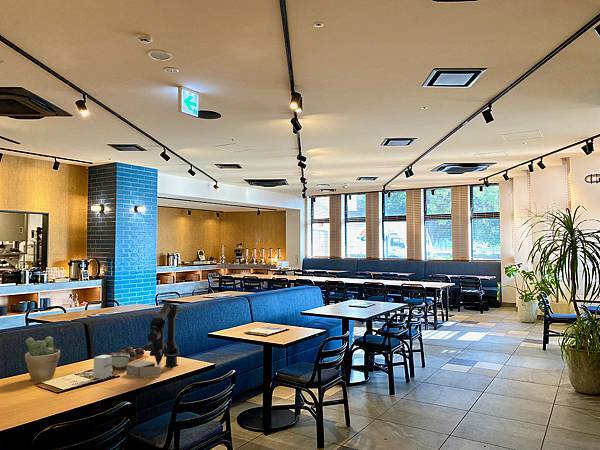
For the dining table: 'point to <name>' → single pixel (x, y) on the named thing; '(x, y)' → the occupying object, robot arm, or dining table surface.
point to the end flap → (150, 371)
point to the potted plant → (41, 359)
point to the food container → (120, 361)
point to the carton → (137, 367)
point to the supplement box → (102, 366)
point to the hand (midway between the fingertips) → (158, 364)
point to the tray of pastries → (133, 354)
